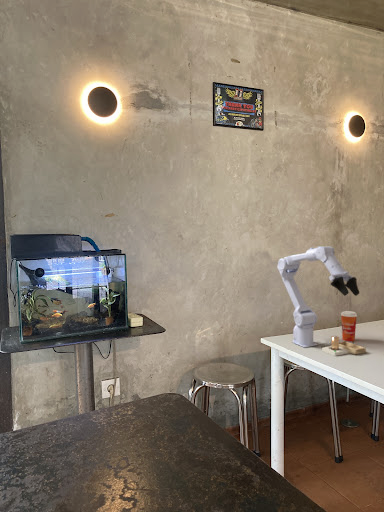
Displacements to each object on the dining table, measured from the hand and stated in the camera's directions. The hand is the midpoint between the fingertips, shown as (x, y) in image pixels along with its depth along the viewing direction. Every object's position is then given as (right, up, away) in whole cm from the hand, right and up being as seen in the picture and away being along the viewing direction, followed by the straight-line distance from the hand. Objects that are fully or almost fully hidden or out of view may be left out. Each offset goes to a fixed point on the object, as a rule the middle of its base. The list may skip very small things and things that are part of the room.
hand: (352, 294), depth 159 cm
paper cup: (+12, -26, +33) cm, 44 cm away
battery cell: (-2, -28, +14) cm, 31 cm away
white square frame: (-2, -28, +14) cm, 31 cm away
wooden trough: (+6, -27, +17) cm, 33 cm away
